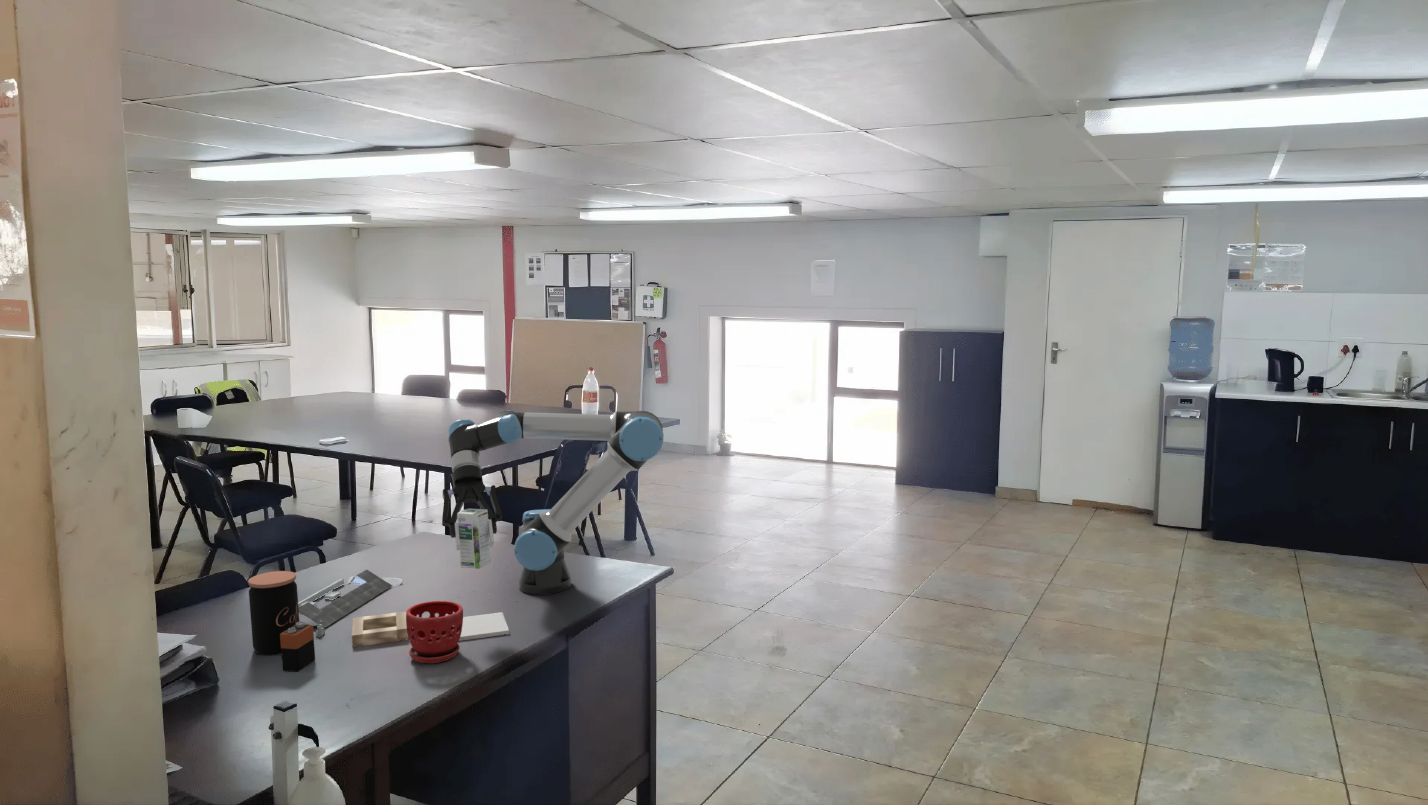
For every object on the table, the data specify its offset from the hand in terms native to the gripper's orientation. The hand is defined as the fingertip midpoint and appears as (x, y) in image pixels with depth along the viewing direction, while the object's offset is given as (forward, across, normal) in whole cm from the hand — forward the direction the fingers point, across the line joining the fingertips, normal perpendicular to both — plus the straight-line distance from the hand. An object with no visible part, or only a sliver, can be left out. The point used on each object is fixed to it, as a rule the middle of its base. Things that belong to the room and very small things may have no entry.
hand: (475, 545), depth 230 cm
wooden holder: (+10, +24, -22) cm, 34 cm away
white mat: (+14, 0, -19) cm, 23 cm away
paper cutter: (-8, +35, -42) cm, 56 cm away
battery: (+20, +42, -12) cm, 48 cm away
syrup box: (+2, 0, -7) cm, 7 cm away
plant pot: (+25, +11, -8) cm, 28 cm away
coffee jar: (+11, +48, -22) cm, 54 cm away
